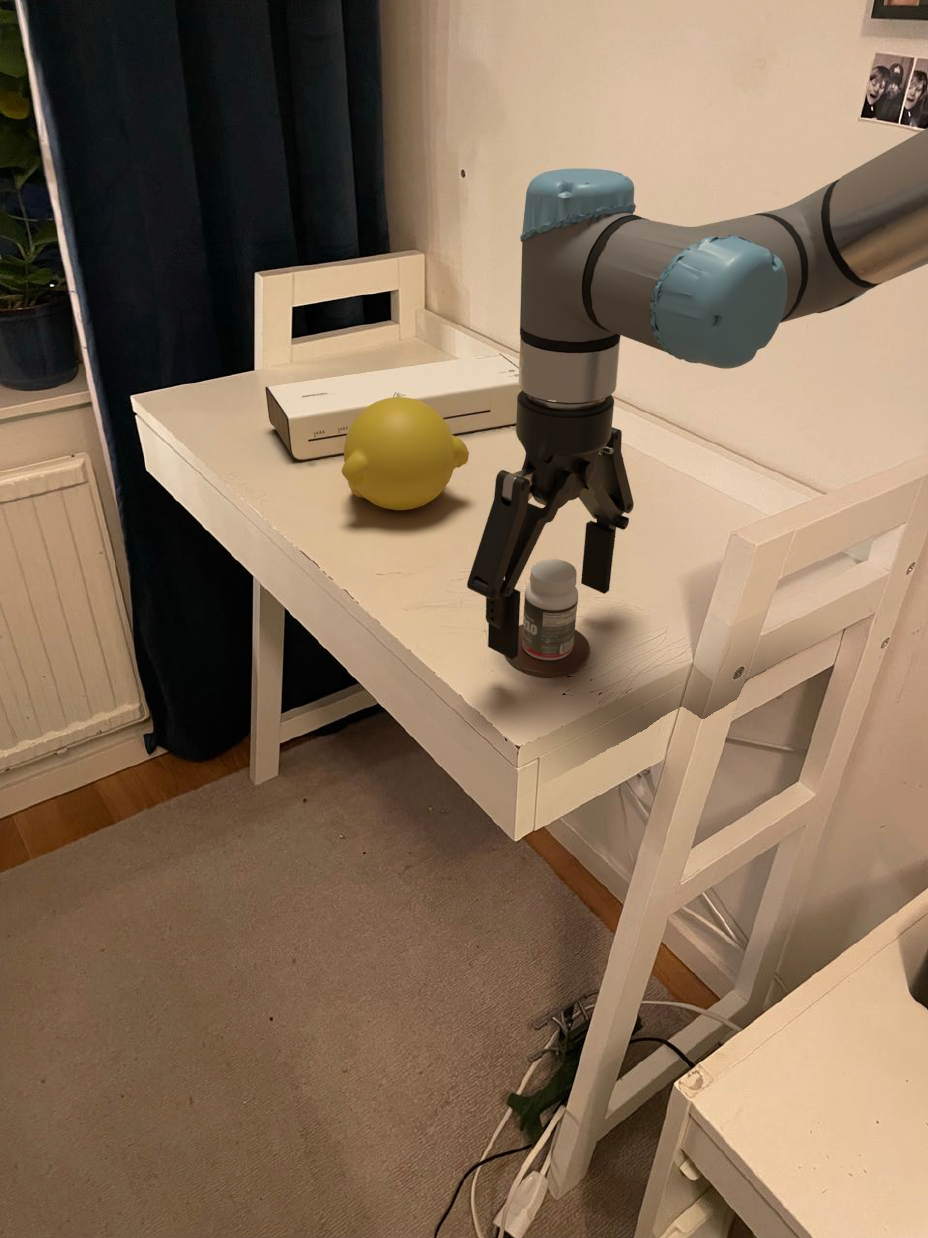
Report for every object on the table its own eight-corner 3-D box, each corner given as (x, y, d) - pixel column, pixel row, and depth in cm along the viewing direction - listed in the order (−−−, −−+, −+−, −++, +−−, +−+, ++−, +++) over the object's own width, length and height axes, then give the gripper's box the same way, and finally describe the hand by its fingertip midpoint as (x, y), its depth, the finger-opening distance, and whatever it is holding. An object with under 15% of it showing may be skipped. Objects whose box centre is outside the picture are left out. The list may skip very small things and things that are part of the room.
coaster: (606, 648, 87) (606, 644, 87) (554, 689, 82) (554, 684, 82) (538, 615, 91) (539, 611, 91) (485, 651, 86) (485, 647, 86)
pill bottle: (516, 633, 88) (520, 557, 83) (565, 629, 89) (572, 553, 84) (527, 664, 84) (532, 587, 79) (578, 659, 85) (586, 582, 80)
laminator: (291, 463, 118) (286, 417, 114) (268, 426, 127) (262, 382, 123) (532, 422, 129) (534, 378, 125) (494, 390, 138) (496, 349, 135)
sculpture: (431, 447, 117) (448, 365, 106) (469, 523, 111) (491, 444, 100) (315, 467, 112) (321, 382, 101) (349, 548, 106) (359, 467, 95)
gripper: (616, 341, 82) (597, 550, 94) (418, 426, 67) (425, 663, 79) (692, 361, 78) (661, 577, 90) (499, 457, 62) (493, 701, 75)
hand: (551, 618), depth 84 cm, fingers open, 13 cm apart
